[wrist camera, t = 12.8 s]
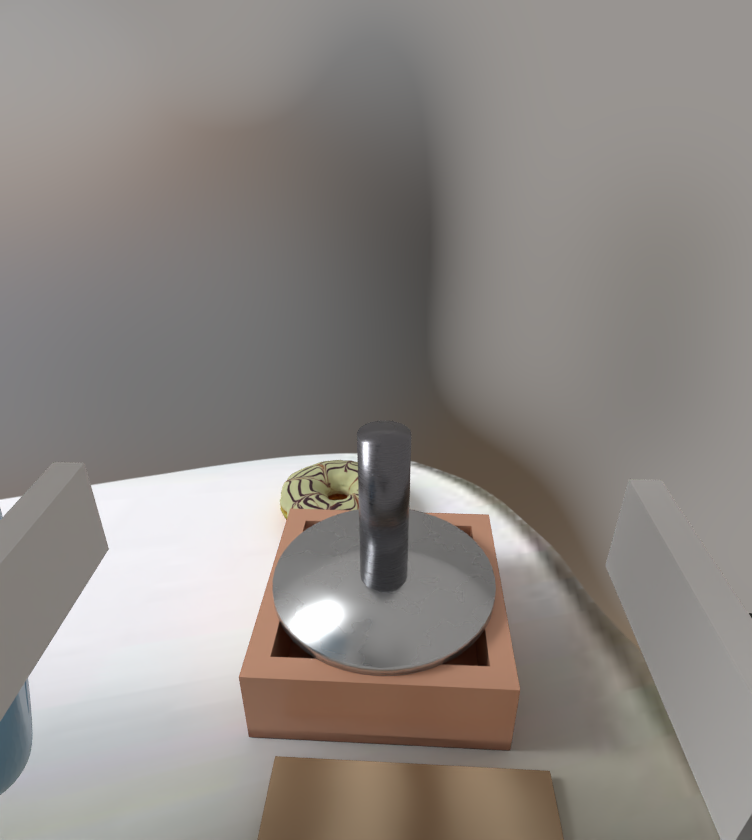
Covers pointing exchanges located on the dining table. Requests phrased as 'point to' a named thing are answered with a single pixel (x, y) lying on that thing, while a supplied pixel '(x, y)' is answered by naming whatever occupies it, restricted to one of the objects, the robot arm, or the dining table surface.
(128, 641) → the dining table surface
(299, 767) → the trivet
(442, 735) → the terracotta square tray
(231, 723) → the dining table surface
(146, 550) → the dining table surface
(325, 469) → the decorated donut
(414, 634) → the lid
